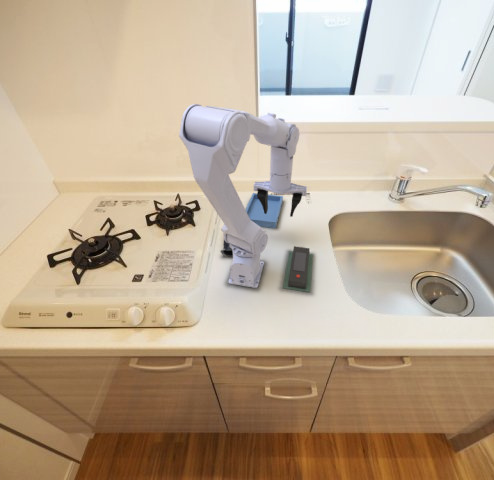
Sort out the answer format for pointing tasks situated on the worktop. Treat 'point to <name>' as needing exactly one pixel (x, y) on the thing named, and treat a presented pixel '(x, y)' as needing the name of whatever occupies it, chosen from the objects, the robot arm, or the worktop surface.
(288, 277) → the mat
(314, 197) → the worktop surface
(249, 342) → the worktop surface
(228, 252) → the electronic device
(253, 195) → the box
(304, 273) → the remote
